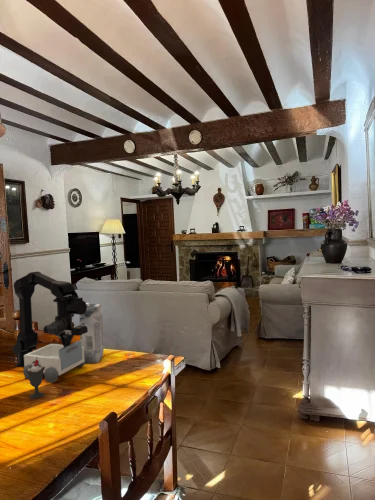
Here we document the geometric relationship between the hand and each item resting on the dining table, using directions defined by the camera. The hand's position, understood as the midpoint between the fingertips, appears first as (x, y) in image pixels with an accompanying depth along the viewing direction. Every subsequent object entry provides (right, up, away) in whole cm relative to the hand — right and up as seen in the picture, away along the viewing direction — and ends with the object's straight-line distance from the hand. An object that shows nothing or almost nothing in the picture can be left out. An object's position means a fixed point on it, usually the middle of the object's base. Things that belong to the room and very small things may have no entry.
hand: (66, 349), depth 151 cm
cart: (-5, -11, +3) cm, 12 cm away
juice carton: (+7, -10, +17) cm, 21 cm away
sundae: (-4, -12, -19) cm, 23 cm away
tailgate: (+3, -6, -1) cm, 7 cm away
